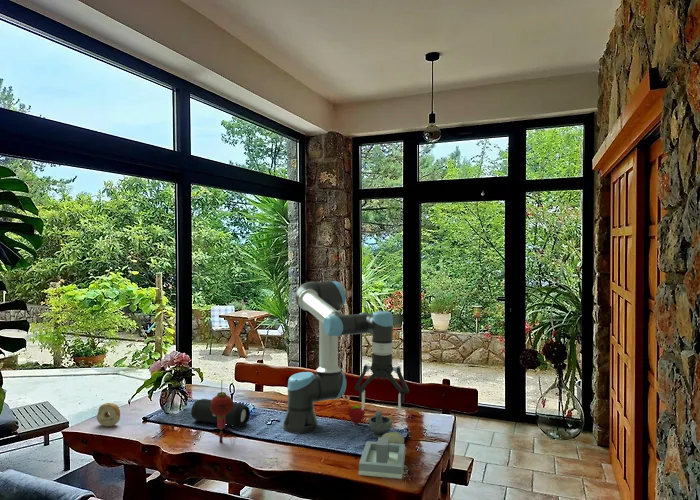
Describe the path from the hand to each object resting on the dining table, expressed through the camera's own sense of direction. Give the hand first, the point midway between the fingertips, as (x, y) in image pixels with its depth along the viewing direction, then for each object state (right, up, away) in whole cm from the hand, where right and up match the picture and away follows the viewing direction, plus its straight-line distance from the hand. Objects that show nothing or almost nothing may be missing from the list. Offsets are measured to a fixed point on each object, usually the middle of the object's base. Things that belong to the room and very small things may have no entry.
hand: (381, 410), depth 174 cm
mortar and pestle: (+1, -20, +24) cm, 31 cm away
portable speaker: (-71, -19, +38) cm, 82 cm away
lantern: (-64, -19, +16) cm, 69 cm away
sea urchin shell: (+6, -20, +15) cm, 26 cm away
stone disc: (-119, -19, +34) cm, 125 cm away
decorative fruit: (-9, -20, +38) cm, 44 cm away
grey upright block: (0, -18, -2) cm, 18 cm away
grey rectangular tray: (+1, -19, -2) cm, 19 cm away
